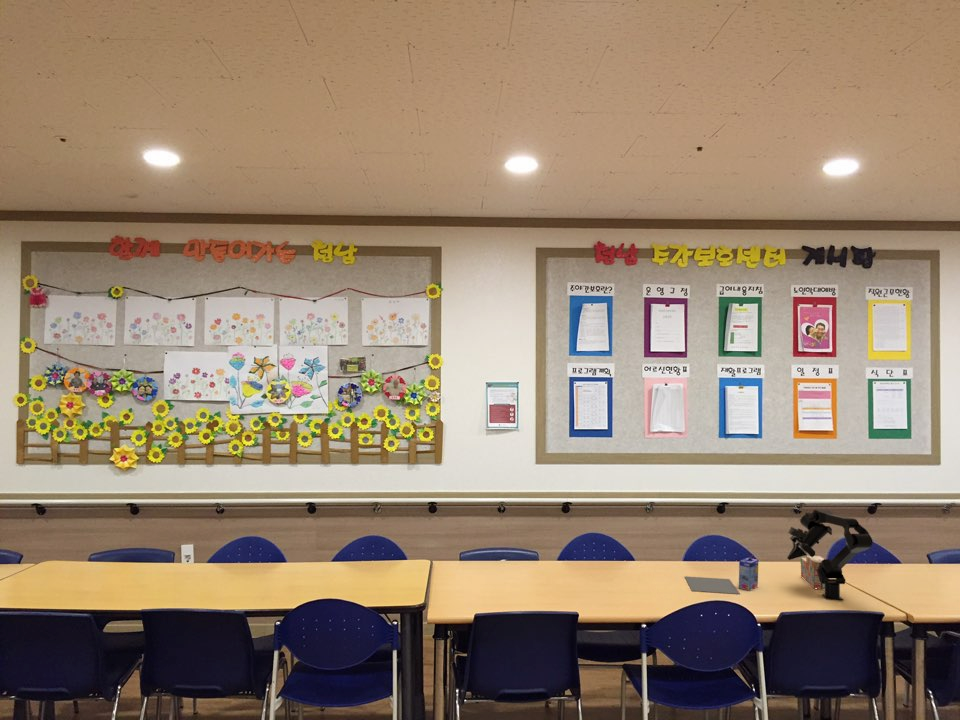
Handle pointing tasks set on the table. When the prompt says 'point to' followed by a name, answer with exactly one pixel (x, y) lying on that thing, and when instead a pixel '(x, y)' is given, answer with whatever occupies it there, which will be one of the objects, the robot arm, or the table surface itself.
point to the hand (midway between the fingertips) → (788, 558)
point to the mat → (711, 585)
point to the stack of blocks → (811, 571)
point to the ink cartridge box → (748, 573)
